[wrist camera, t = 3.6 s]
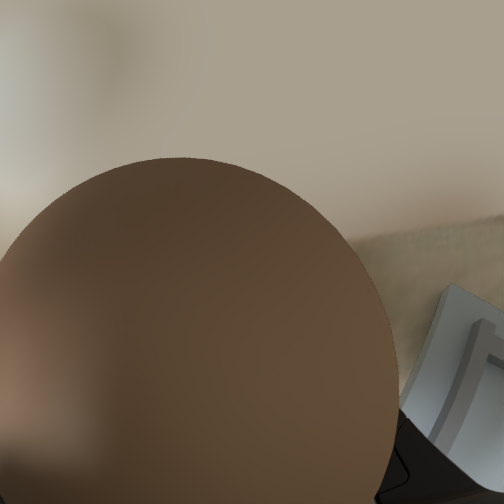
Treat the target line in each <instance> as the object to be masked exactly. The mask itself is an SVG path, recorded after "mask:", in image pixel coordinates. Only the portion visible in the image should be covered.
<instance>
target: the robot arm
mask: <svg viewBox="0 0 504 504" xmlns="http://www.w3.org/2000/svg"><path fill="white" fill-rule="evenodd" d="M0 504H6V503H5V501H4V500H3V498H2V497H1V495H0ZM371 504H504V492H496V491H493V490H490V489H487V488H485V487H483V486H481V485H480V484H478V483H477V482H476V481H474V480H473V479H472V478H471V477H470V476H468V475H467V474H466V473H465V472H464V471H463V470H462V469H460V468H459V467H458V466H457V465H456V464H455V463H454V462H452V461H451V460H450V459H449V458H448V457H447V456H446V455H444V454H443V453H442V452H441V451H440V450H439V449H438V448H437V447H436V446H435V445H434V444H433V443H432V442H430V441H429V440H428V439H427V438H426V436H425V435H424V434H423V433H422V432H421V431H420V430H419V429H418V428H417V427H416V426H415V425H414V423H413V422H412V421H411V420H410V419H409V418H407V416H406V415H405V413H404V412H403V411H402V410H401V409H400V408H399V413H398V421H397V428H396V434H395V441H394V447H393V450H392V453H391V456H390V460H389V463H388V466H387V469H386V471H385V474H384V477H383V480H382V483H381V485H380V487H379V489H378V491H377V493H376V495H375V497H374V498H373V500H372V502H371Z"/></svg>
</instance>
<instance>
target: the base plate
mask: <svg viewBox="0 0 504 504" xmlns="http://www.w3.org/2000/svg"><path fill="white" fill-rule="evenodd" d="M399 408H400V409H401V410H402V411H403V412H404V413H405V415H406V416H407V418H409V419H410V420H411V421H412V422H413V423H414V425H415V426H416V427H417V428H418V429H419V430H420V431H421V432H422V433H423V434H424V435H425V436H426V438H427V439H428V440H429V441H430V442H432V443H433V444H434V445H435V446H436V447H437V448H438V449H439V450H440V451H441V452H442V453H443V454H444V455H446V456H447V457H448V458H449V459H450V460H451V461H452V462H454V463H455V464H456V465H457V466H458V467H459V468H460V469H462V470H463V471H464V472H465V473H466V474H467V475H468V476H470V477H471V478H472V479H473V480H474V481H476V482H477V483H478V484H480V485H481V486H483V487H485V488H487V489H490V490H493V491H496V492H504V312H503V311H501V310H499V309H498V308H496V307H494V306H492V305H491V304H489V303H487V302H485V301H484V300H482V299H480V298H478V297H476V296H475V295H473V294H471V293H469V292H467V291H465V290H464V289H462V288H460V287H458V286H456V285H454V284H452V283H450V284H449V285H448V286H447V287H446V288H445V289H444V290H443V291H442V294H441V297H440V300H439V303H438V306H437V309H436V312H435V315H434V318H433V321H432V323H431V326H430V329H429V331H428V334H427V337H426V339H425V342H424V344H423V347H422V349H421V352H420V354H419V356H418V359H417V361H416V363H415V366H414V368H413V370H412V372H411V375H410V377H409V379H408V381H407V383H406V385H405V387H404V389H403V392H402V394H401V396H400V398H399Z"/></svg>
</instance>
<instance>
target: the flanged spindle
mask: <svg viewBox="0 0 504 504" xmlns="http://www.w3.org/2000/svg"><path fill="white" fill-rule="evenodd" d="M398 413H399V376H398V363H397V357H396V352H395V347H394V342H393V337H392V333H391V328H390V324H389V322H388V319H387V316H386V313H385V311H384V308H383V305H382V303H381V300H380V297H379V295H378V292H377V290H376V288H375V286H374V284H373V282H372V281H371V279H370V277H369V275H368V273H367V272H366V270H365V268H364V266H363V265H362V263H361V261H360V259H359V258H358V256H357V255H356V254H355V252H354V251H353V250H352V248H351V247H350V246H349V244H348V243H347V242H346V241H345V239H344V238H343V237H342V236H341V234H340V233H339V232H338V230H337V229H336V228H335V227H334V226H333V225H332V224H331V223H329V221H327V220H326V219H325V218H324V217H323V216H322V215H321V214H320V213H319V212H318V211H317V210H316V209H315V208H314V207H313V206H311V205H310V204H309V203H307V202H306V201H305V200H303V199H302V198H300V197H299V196H298V195H296V194H295V193H293V192H292V191H291V190H289V189H288V188H286V187H284V186H282V185H280V184H278V183H276V182H275V181H273V180H271V179H269V178H267V177H264V176H263V175H261V174H258V173H255V172H253V171H250V170H247V169H244V168H241V167H238V166H236V165H232V164H227V163H223V162H218V161H213V160H207V159H196V158H163V159H162V158H160V159H153V160H147V161H141V162H136V163H132V164H129V165H125V166H121V167H118V168H114V169H112V170H109V171H107V172H104V173H102V174H99V175H97V176H95V177H92V178H91V179H89V180H87V181H85V182H83V183H81V184H79V185H77V186H76V187H74V188H72V189H71V190H70V191H68V192H66V193H65V194H63V195H62V196H61V197H59V198H58V199H56V200H55V201H54V202H52V203H51V204H50V205H49V206H48V207H46V208H45V209H44V210H43V211H42V212H41V213H40V214H38V216H36V217H35V218H34V219H33V221H32V222H31V223H30V224H29V225H28V226H27V227H26V228H25V229H24V230H23V231H22V232H21V234H20V235H19V236H18V237H17V239H16V240H15V241H14V242H13V244H12V245H11V246H10V248H9V249H8V251H7V252H6V254H5V255H4V257H3V258H2V260H1V262H0V495H1V497H2V498H3V500H4V501H5V503H6V504H371V502H372V500H373V498H374V497H375V495H376V493H377V491H378V489H379V487H380V485H381V483H382V480H383V477H384V474H385V471H386V469H387V466H388V463H389V460H390V456H391V453H392V450H393V447H394V441H395V434H396V428H397V421H398Z"/></svg>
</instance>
